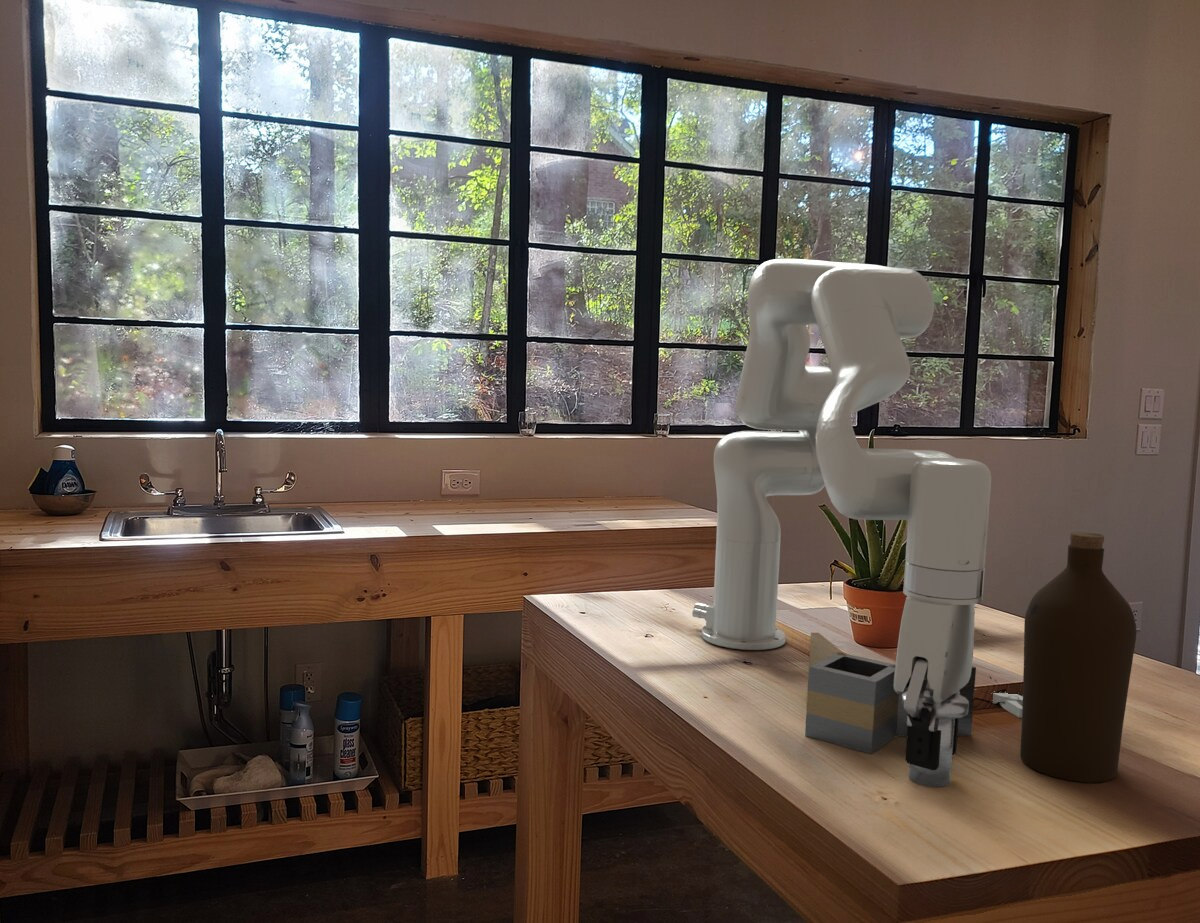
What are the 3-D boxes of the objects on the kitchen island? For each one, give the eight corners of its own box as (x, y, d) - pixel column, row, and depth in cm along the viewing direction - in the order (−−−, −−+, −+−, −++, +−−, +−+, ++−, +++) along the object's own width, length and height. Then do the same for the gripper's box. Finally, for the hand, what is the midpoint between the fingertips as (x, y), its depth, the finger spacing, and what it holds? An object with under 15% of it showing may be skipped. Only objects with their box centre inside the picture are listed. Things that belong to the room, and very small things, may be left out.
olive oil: (1084, 794, 99) (1106, 546, 97) (993, 756, 108) (1010, 528, 105) (1144, 774, 105) (1166, 539, 102) (1052, 740, 114) (1070, 523, 111)
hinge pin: (886, 779, 101) (892, 698, 100) (910, 761, 106) (915, 683, 105) (950, 798, 97) (956, 713, 96) (971, 778, 102) (977, 697, 101)
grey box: (755, 721, 116) (758, 654, 115) (809, 692, 127) (813, 631, 126) (929, 770, 103) (934, 695, 103) (972, 733, 115) (978, 666, 114)
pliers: (994, 668, 136) (1068, 706, 122) (993, 679, 137) (1067, 718, 122) (929, 671, 134) (997, 709, 120) (928, 682, 134) (996, 722, 120)
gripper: (935, 564, 108) (924, 727, 110) (873, 588, 95) (861, 773, 97) (1007, 575, 104) (993, 745, 105) (952, 602, 90) (938, 796, 92)
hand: (930, 756), depth 101 cm, fingers closed on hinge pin, 4 cm apart
